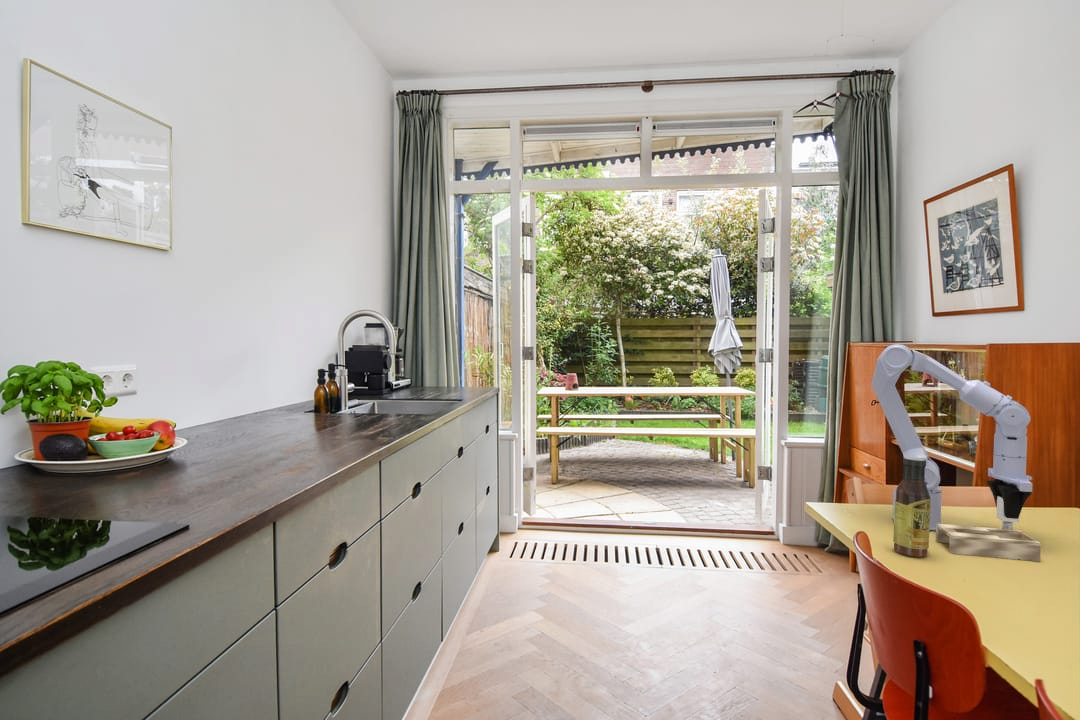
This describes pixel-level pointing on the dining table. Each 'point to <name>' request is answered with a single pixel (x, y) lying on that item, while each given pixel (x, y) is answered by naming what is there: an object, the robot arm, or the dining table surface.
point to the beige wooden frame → (988, 542)
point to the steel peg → (1006, 522)
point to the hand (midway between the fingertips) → (1007, 515)
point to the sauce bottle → (912, 510)
